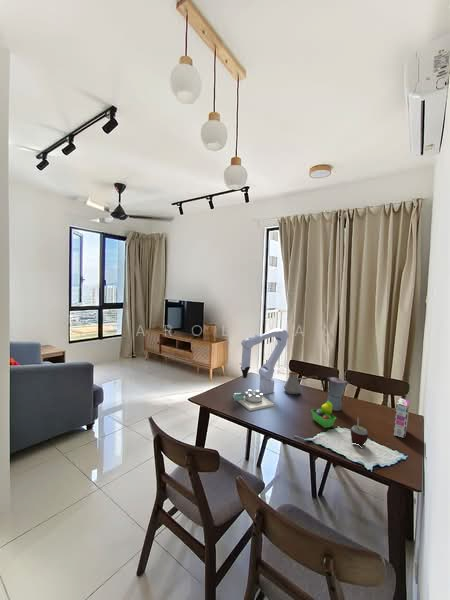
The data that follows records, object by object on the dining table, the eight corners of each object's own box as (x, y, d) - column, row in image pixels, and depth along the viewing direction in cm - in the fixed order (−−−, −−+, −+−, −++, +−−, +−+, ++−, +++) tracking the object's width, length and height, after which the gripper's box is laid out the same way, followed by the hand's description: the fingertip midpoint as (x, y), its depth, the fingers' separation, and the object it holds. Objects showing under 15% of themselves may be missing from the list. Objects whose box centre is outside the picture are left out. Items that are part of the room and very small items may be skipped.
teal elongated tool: (256, 394, 168) (256, 387, 168) (265, 401, 158) (266, 393, 158) (230, 397, 160) (230, 390, 160) (238, 405, 150) (239, 397, 150)
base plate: (255, 393, 173) (256, 391, 173) (273, 406, 156) (274, 403, 156) (233, 397, 165) (233, 395, 165) (249, 410, 148) (249, 408, 148)
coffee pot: (281, 392, 178) (282, 370, 177) (287, 387, 187) (288, 367, 187) (313, 401, 166) (315, 378, 165) (317, 396, 176) (319, 373, 175)
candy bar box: (405, 440, 127) (408, 406, 127) (393, 435, 131) (395, 403, 130) (407, 431, 136) (410, 400, 135) (395, 427, 139) (398, 397, 138)
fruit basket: (309, 418, 143) (311, 398, 143) (322, 416, 146) (324, 396, 146) (324, 429, 133) (326, 407, 132) (338, 427, 136) (339, 405, 135)
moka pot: (348, 413, 152) (351, 379, 151) (320, 409, 155) (323, 376, 154) (344, 406, 162) (347, 374, 161) (318, 402, 165) (320, 371, 164)
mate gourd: (361, 440, 125) (364, 409, 124) (371, 450, 117) (374, 417, 116) (346, 440, 124) (348, 408, 124) (354, 450, 116) (357, 417, 116)
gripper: (242, 353, 180) (241, 373, 180) (237, 358, 166) (236, 380, 167) (253, 355, 178) (251, 375, 178) (248, 360, 164) (246, 382, 164)
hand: (244, 377), depth 172 cm, fingers closed
